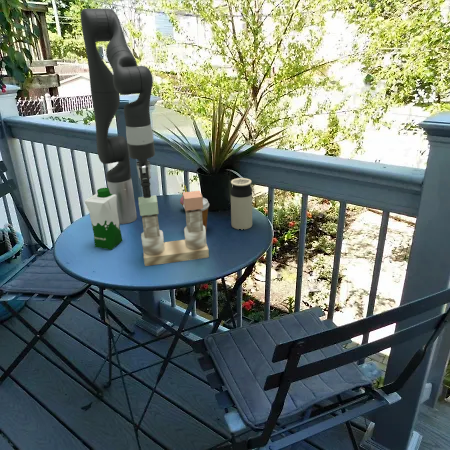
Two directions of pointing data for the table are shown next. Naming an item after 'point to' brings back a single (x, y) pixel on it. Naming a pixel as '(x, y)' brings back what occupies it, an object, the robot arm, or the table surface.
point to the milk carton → (104, 219)
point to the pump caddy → (174, 250)
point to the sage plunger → (148, 206)
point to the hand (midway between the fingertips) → (146, 192)
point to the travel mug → (241, 203)
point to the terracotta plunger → (192, 200)
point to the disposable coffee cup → (204, 212)
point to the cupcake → (182, 196)
